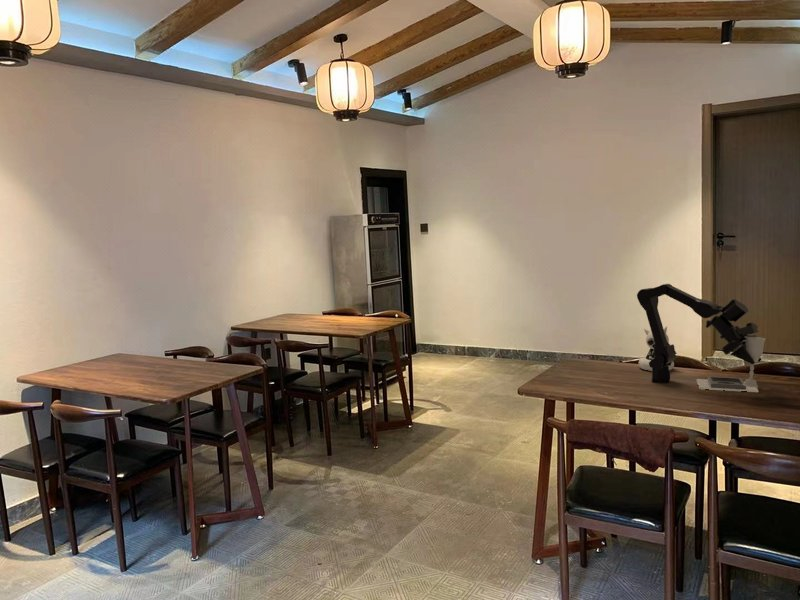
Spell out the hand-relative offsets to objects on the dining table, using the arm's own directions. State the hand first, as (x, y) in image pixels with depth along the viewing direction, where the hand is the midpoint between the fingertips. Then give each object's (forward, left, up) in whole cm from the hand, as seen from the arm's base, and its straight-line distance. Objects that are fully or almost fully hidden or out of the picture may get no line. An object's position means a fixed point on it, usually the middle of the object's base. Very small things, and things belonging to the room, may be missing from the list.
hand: (757, 362), depth 219 cm
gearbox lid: (-8, +15, -13) cm, 21 cm away
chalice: (-2, -1, -9) cm, 9 cm away
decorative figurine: (-33, +41, -13) cm, 54 cm away
